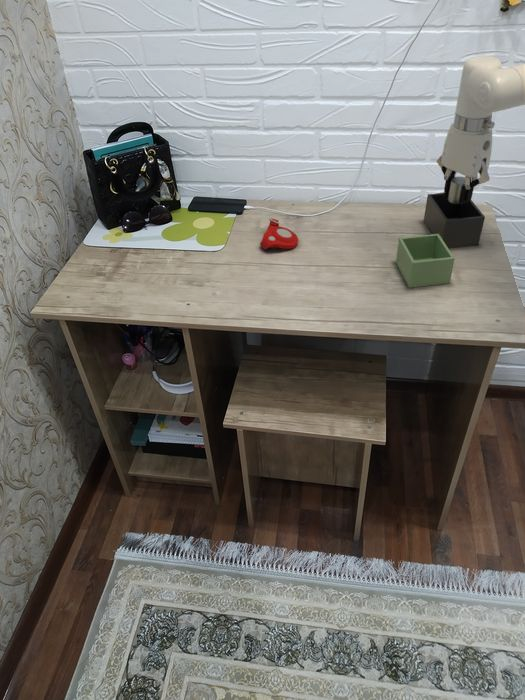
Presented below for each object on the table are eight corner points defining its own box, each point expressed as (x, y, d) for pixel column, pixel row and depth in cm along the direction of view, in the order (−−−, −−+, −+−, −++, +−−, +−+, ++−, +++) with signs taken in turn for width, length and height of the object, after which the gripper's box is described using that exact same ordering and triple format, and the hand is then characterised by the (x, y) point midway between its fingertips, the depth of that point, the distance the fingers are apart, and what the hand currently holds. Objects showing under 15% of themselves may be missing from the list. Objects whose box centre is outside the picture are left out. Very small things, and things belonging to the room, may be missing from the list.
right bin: (478, 245, 137) (485, 216, 132) (441, 249, 136) (446, 221, 131) (458, 217, 146) (463, 190, 141) (423, 221, 146) (427, 194, 141)
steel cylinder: (467, 203, 134) (471, 183, 131) (451, 204, 134) (454, 185, 130) (461, 195, 137) (465, 175, 133) (445, 196, 137) (448, 177, 133)
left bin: (449, 283, 126) (454, 258, 122) (408, 287, 126) (412, 262, 121) (434, 258, 134) (438, 233, 129) (395, 262, 133) (398, 237, 129)
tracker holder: (307, 238, 141) (278, 246, 134) (301, 253, 144) (273, 261, 137) (276, 211, 146) (247, 217, 140) (271, 225, 149) (242, 232, 142)
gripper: (516, 127, 119) (496, 206, 132) (452, 106, 129) (439, 181, 142) (493, 137, 116) (475, 217, 128) (430, 115, 126) (418, 191, 139)
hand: (456, 198), depth 135 cm, fingers closed on steel cylinder, 4 cm apart
